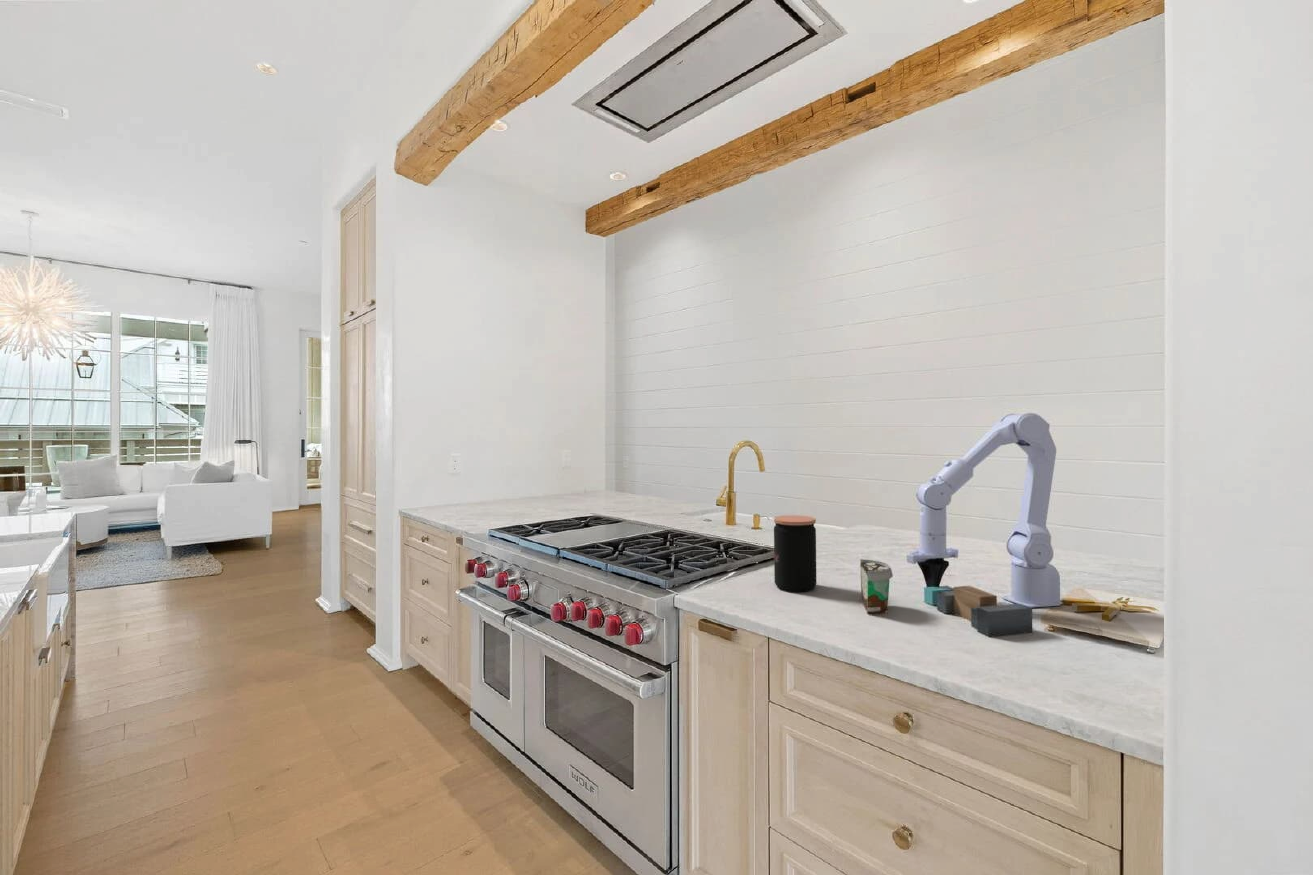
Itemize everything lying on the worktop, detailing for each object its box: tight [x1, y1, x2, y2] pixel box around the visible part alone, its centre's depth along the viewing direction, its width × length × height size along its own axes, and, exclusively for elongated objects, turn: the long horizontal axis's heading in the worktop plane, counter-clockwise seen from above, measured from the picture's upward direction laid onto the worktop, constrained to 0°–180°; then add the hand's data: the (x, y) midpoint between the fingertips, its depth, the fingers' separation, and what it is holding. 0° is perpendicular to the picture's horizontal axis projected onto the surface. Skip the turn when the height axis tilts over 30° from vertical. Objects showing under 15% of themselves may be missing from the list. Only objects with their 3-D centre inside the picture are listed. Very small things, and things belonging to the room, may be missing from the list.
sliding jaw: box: [923, 585, 954, 615], centre depth 135 cm, size 8×9×4 cm
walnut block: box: [953, 585, 998, 622], centre depth 126 cm, size 4×8×6 cm, turn 10°
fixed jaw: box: [970, 603, 1033, 638], centre depth 119 cm, size 10×6×5 cm, turn 100°
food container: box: [859, 559, 894, 615], centre depth 134 cm, size 12×6×10 cm, turn 168°
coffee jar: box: [773, 514, 817, 593], centre depth 153 cm, size 11×11×18 cm
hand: (932, 590), depth 140 cm, fingers closed, pressing on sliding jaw
